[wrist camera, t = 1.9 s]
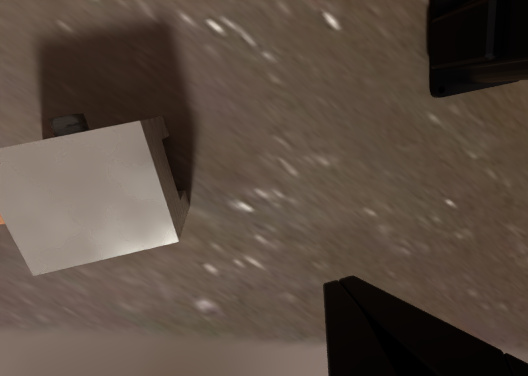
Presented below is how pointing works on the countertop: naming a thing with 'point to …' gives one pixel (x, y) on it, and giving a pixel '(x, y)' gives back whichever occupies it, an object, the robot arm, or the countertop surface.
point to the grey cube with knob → (90, 193)
